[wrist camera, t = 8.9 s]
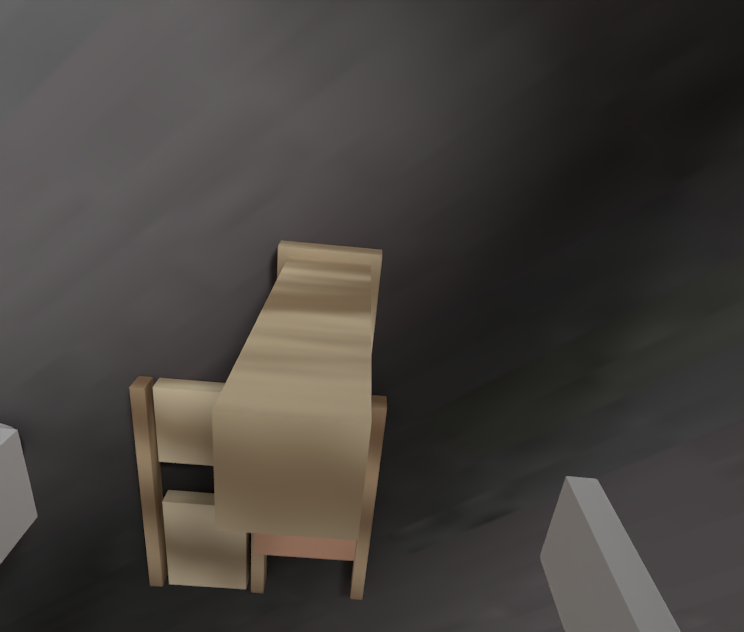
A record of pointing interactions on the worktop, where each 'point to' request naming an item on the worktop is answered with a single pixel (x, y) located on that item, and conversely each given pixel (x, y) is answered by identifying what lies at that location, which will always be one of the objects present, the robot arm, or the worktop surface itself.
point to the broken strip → (195, 509)
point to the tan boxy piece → (301, 400)
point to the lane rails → (157, 545)
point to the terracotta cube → (304, 547)
